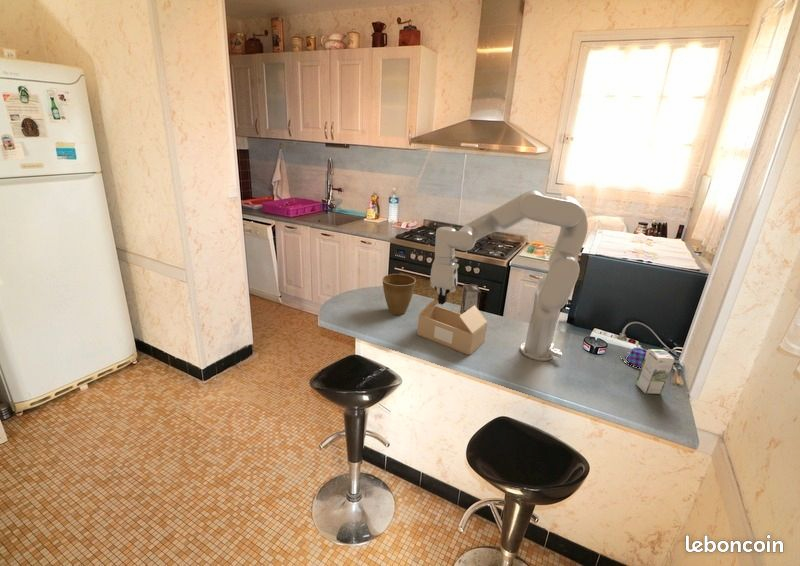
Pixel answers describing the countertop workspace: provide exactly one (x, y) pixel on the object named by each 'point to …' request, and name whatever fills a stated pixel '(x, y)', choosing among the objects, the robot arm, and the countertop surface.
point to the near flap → (473, 319)
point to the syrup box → (654, 371)
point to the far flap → (430, 305)
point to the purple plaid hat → (636, 356)
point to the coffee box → (470, 297)
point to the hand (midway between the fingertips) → (442, 303)
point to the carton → (449, 330)
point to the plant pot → (398, 292)
